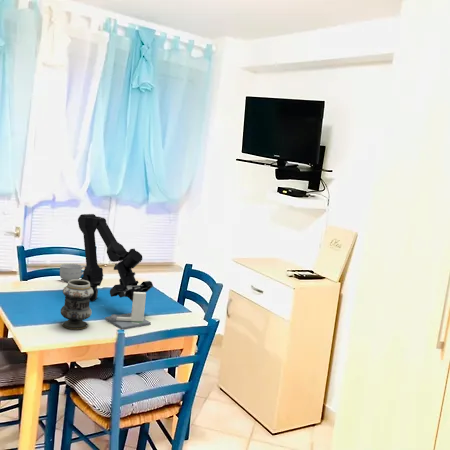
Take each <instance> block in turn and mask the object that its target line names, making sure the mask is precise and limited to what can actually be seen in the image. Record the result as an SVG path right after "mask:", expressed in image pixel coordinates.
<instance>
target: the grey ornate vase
mask: <svg viewBox="0 0 450 450" xmlns="http://www.w3.org/2000/svg"><path fill="white" fill-rule="evenodd" d="M93 293H94V292H93V289H92V288H91V287H90V282H89V281H86V280H81V278H80V279H73V280H70V281H68V282H67V285H66V286H64V287H63V289H62V294H63V295H64V296H65V298H64V305H63V306H62V307H61V308H60V315H61V316H62V317H63V318H64V319H67V320H65V321H63V322H62V327H63V328H65V329H68V330H74V331H75V330H77V331H78V330H83V329H86V328H87V327H88V325H89V324H88V323H87V322H86V321H84V320H87V319H89V318H90V317H91V316H92V314H93V312H92V309H91V308H90V302H91V301H90V297H92V295H93Z"/></svg>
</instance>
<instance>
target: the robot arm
mask: <svg viewBox="0 0 450 450" xmlns="http://www.w3.org/2000/svg"><path fill="white" fill-rule="evenodd" d="M106 219H107V218H105V217H102V216H97V215H96V214H94V213H86V214H85V213H84V214H80V215H79V216H78V218H77V222H78V229H79V230H80V231H81V233H82V234H83V244H84V245H83V246H84V256H85V264H86V265H85V266H86V267H84V269H83V271H84V272H83V271H82V272H83V274H82V276H81V277H80V279H81V280H86V281H89V282H90V287H91V288H92V289H93V292H94V293H93V295H92V297H90V302H94V301H95V300H96V299H98V293H99V289H98V287H100V286H101V285H102V281H103V280H104V272H103V271H104V270H103V269H104V268H103V267H101V266H99V264H98V255H97V254H98V253H97V246H96V237H95V236H96V232H98V233H99V235H100V238H101V239H102V241H103V243H104V245H105V247H106V254H107V257H108V259H109V261H111V263H112V262H113V263H114V267H113V271H117V272H118V276H119V280H118V281H119V284H114V285H113V286H112V288H110V290H109V294H110V297H112V298H113V297H117V296H118V297H119V298H128V299H129V300H130V301H131V302H132V303H133V293H134V292H146V293H147V292H149V291H150V290H151V289H152V288H153V287H154V284H153V282H152V281H151V280H146V281H145V280H144V281H142V282H141V283H140V282H139V280H137V279H136V278H135V275H136V272H133V269H134V268H135V267H137V266H138V265H139V263H141V262H142V261H143V255H142V253H140V252H139V251H137V250H136V249H135V248H130V249H129V250H128V251H127V250H126V248H125V247H124V246H123V244H121V243H120V242H118V240H117V239H116V238H115V236H114V234H113V233H112V231H111V228H110V226H109V225H108V223H107V220H106ZM115 262H116V263H115ZM117 262H118V263H117ZM139 283H140V284H139Z"/></svg>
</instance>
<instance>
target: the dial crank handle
mask: <svg viewBox="0 0 450 450" xmlns="http://www.w3.org/2000/svg"><path fill="white" fill-rule="evenodd" d="M146 298H147V292H134V293H133V302H132V305H131V312H130V313H131V317H117V315H118V314H115V313H114V314H111V315H110V316H111V320H112V321H117V320H121V321H143V319H145V318H144V317H145V308H146Z"/></svg>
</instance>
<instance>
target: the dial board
mask: <svg viewBox="0 0 450 450" xmlns="http://www.w3.org/2000/svg"><path fill="white" fill-rule="evenodd" d="M131 313H132V312H129V313H123V314H116V315H117V317H131ZM104 320H105V321H107V322H108V323H110V324H111V325H114V326H115V327H116V328H118V329H120V330H122V329H124V330H129V329H134V328H140V327H145V326H150V325H151V322H150V321H149V320H147V319H146V318H144V319H143V321H121V320H117V321H112V320H111V315H110V316H105V318H104Z"/></svg>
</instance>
